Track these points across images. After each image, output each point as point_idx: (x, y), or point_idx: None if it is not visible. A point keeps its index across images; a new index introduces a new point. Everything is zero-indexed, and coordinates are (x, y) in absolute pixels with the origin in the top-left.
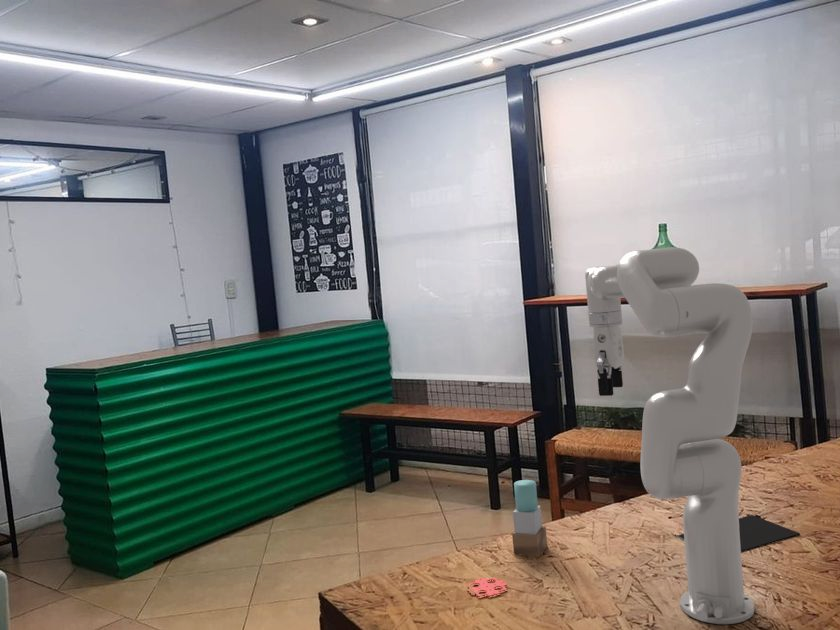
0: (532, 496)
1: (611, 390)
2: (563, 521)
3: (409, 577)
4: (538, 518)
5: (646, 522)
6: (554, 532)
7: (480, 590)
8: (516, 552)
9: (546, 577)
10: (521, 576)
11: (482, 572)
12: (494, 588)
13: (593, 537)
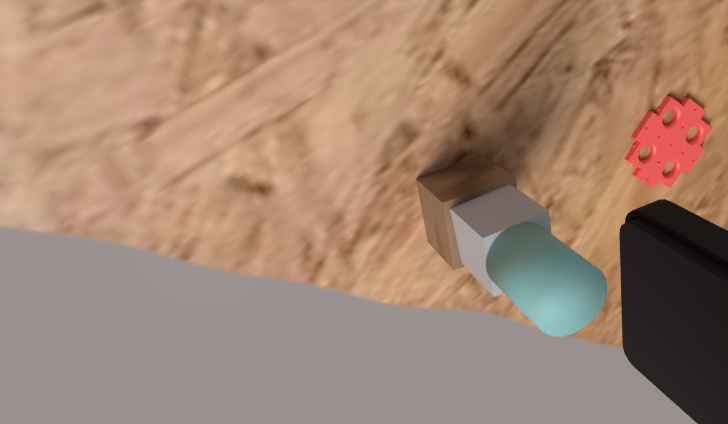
0: (563, 245)
1: (712, 240)
2: (226, 260)
3: None
4: (493, 213)
5: (53, 9)
6: (319, 226)
7: (688, 143)
8: None
9: (581, 61)
10: (594, 118)
11: (601, 207)
12: (672, 125)
13: (294, 104)
